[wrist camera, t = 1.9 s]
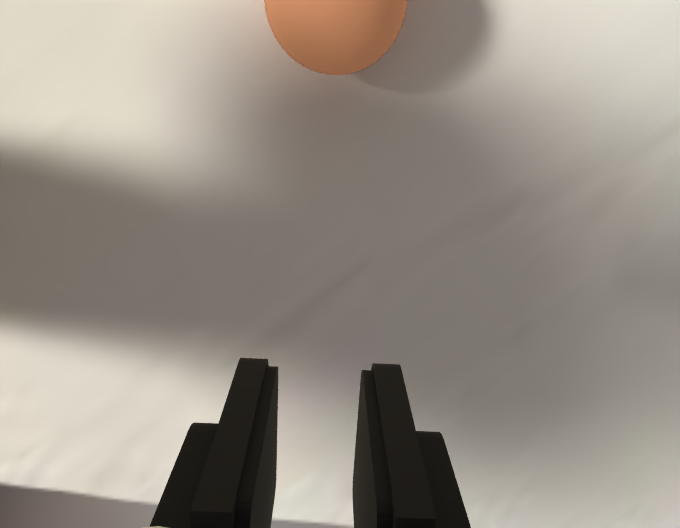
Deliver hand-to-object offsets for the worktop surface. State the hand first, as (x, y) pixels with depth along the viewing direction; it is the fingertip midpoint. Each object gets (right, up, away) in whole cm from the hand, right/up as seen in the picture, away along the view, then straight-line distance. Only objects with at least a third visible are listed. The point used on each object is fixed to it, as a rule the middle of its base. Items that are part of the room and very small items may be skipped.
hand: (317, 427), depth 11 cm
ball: (0, +14, +10) cm, 17 cm away
